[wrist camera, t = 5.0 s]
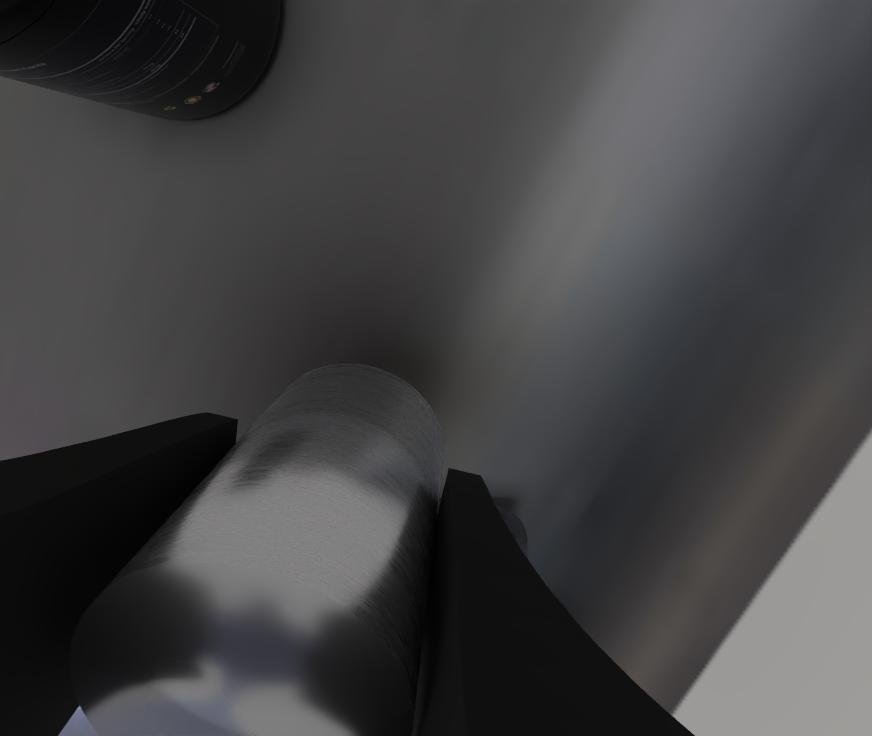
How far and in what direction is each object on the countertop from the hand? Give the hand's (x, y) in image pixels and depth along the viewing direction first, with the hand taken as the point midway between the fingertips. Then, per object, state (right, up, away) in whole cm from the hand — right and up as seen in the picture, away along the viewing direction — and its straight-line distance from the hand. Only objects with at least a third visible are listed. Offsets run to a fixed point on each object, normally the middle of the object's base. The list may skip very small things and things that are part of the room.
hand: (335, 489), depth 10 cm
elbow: (0, -1, +2) cm, 3 cm away
